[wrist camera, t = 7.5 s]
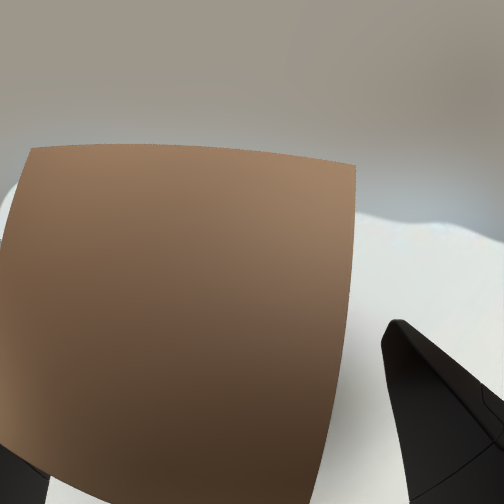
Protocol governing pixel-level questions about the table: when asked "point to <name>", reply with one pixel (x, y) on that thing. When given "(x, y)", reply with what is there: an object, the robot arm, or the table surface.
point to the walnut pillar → (175, 320)
